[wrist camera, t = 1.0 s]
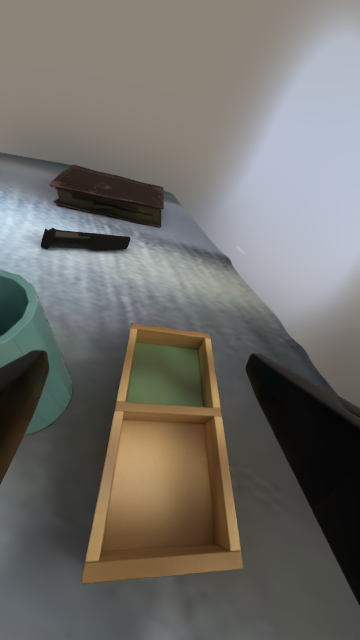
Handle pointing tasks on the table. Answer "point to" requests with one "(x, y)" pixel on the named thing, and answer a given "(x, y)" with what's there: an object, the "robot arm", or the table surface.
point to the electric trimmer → (83, 240)
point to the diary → (109, 195)
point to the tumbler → (32, 345)
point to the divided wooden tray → (164, 466)
